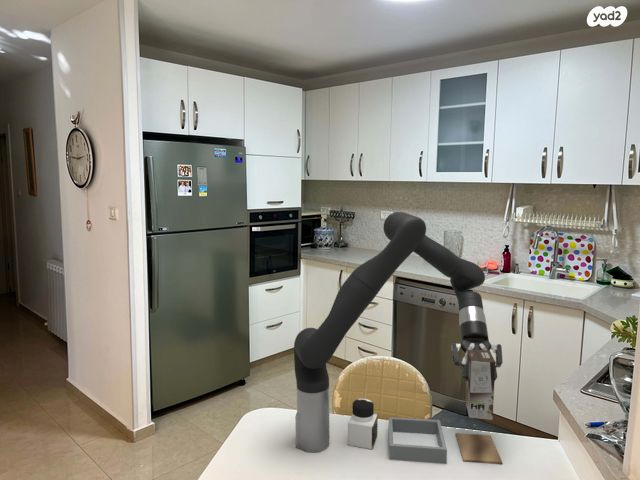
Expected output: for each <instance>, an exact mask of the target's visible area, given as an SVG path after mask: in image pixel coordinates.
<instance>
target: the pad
mask: <svg viewBox="0 0 640 480" xmlns="http://www.w3.org/2000/svg"><path fill="white" fill-rule="evenodd" d="M455 438H456V441H457V444H458V448H459V452H460V455H461V459H462V462H464V463H476V464H478V463H479V464H490V465H491V464H492V465H503V461H502V458H501V456H500V453H499V451H498V448H497V447H496V446H497V445H496V444H495V441H494V439H493V437H492V435H491V434H479V433H477V434H476V433H475V434H474V433H463V432H462V433H459V432H455Z"/></svg>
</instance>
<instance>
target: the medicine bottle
mask: <svg viewBox="0 0 640 480" xmlns="http://www.w3.org/2000/svg"><path fill="white" fill-rule="evenodd" d="M374 406H375V405H374V402H373V401H372V400H370V399H367V398H357V399H355V400H354V401H353V402H352V407H351V408H352V409H351V411H352V414H351V416H350V418H349V420H348V422H347V445H348V446H351V447H355V448H356V447H358V448H361V449H368V450H373V449H374V446H375V443H376V440H377V438H378V414H377V413H374V411H375V409H374Z"/></svg>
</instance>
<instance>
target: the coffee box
mask: <svg viewBox="0 0 640 480" xmlns="http://www.w3.org/2000/svg"><path fill="white" fill-rule="evenodd" d="M495 363H496V359H494V356H493V354H492V353H491V349H490V350H469V349H467V363H466V365H467V370H468V380H467V381H466V380H465V406H466V407H465V408H466V410H467V415H468V417H469V418H470V419H481V420H483V419H484V420H490V421H492V420H494V419H493V418H494V403H495V402H494V400H495V399H494V398H495V397H494V396H495V394H494V393H495V382H494V381H496V380H495Z"/></svg>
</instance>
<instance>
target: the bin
mask: <svg viewBox="0 0 640 480" xmlns="http://www.w3.org/2000/svg"><path fill="white" fill-rule="evenodd" d="M394 433H407V434H408V433H409V434H422V435H425V434H426V435H435V436H436V438H437V443H438V446H429V445H419V444H417V445H416V444H415V445H414V444H402V443H401V444H400V443H394ZM388 452H389V454H388V455H389V456H388V457H389V460H390V461H392V460H393V461H404V462H405V461H406V462H418V463H419V462H421V463H431V464H433V463H434V464H445V465H446V464H448V448H447V444H446V439H445V436H444V431H443V426H442V423H441V420H440V419H427V418H410V417H395V416H394V417H393V416H392V417H391V416H389V417H388Z"/></svg>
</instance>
